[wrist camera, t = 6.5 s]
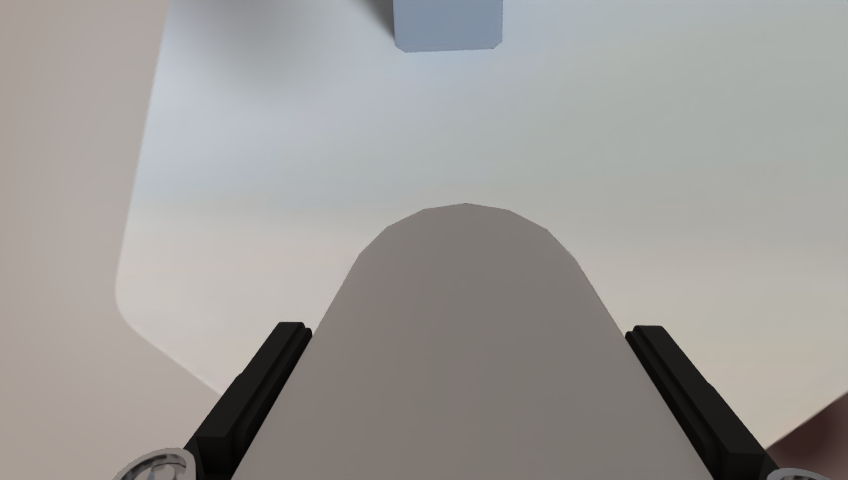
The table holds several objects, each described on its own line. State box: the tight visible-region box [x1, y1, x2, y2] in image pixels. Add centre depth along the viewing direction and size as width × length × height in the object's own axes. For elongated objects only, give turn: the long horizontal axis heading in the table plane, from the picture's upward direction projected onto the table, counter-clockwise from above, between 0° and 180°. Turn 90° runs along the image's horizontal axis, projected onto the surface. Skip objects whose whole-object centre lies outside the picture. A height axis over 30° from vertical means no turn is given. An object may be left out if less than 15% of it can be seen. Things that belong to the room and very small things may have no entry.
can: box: [231, 203, 714, 480], centre depth 9 cm, size 8×8×12 cm
